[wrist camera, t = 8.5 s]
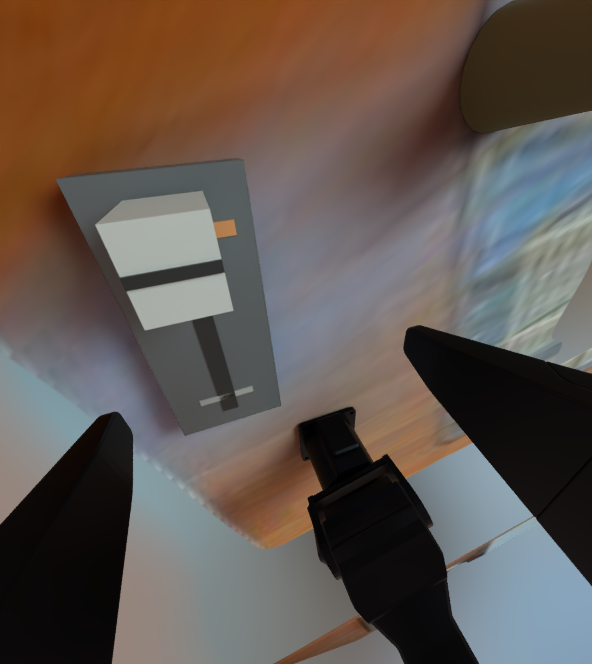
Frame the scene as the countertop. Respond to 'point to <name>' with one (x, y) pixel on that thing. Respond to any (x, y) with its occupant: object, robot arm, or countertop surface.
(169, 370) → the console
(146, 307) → the block
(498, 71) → the cork
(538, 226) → the countertop surface
